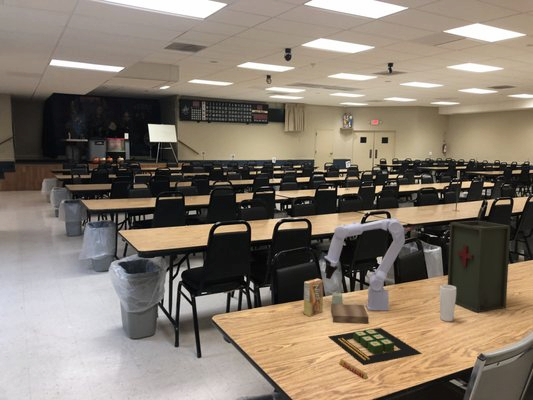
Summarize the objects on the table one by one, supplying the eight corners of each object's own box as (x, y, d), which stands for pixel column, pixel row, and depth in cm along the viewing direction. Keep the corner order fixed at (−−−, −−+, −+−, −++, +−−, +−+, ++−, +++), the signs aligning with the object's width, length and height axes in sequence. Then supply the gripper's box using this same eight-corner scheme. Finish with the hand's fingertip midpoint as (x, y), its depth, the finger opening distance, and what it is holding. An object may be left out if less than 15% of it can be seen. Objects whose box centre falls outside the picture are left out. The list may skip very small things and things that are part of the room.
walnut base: (363, 311, 198) (363, 305, 198) (368, 323, 184) (368, 316, 183) (331, 310, 200) (331, 304, 199) (333, 322, 185) (333, 315, 185)
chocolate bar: (363, 381, 137) (363, 374, 136) (338, 365, 147) (338, 359, 147) (369, 378, 138) (369, 372, 138) (343, 363, 148) (343, 357, 148)
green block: (341, 303, 210) (341, 293, 209) (342, 306, 205) (342, 296, 205) (332, 302, 210) (332, 293, 210) (332, 306, 206) (333, 296, 205)
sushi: (328, 338, 170) (328, 329, 169) (380, 329, 178) (380, 321, 178) (363, 367, 146) (363, 356, 146) (421, 355, 155) (422, 345, 155)
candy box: (316, 309, 200) (317, 278, 199) (323, 312, 197) (323, 280, 196) (303, 314, 195) (303, 281, 193) (309, 316, 192) (310, 283, 190)
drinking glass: (455, 318, 190) (456, 285, 188) (454, 323, 184) (456, 290, 182) (438, 316, 192) (440, 283, 191) (438, 321, 186) (439, 288, 185)
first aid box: (505, 308, 203) (510, 225, 199) (477, 313, 196) (481, 228, 192) (474, 296, 220) (477, 220, 216) (446, 300, 213) (450, 222, 209)
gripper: (326, 244, 212) (319, 269, 214) (328, 251, 198) (320, 278, 200) (340, 248, 212) (332, 273, 214) (342, 255, 197) (334, 282, 199)
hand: (327, 276), depth 207 cm, fingers open, 7 cm apart
